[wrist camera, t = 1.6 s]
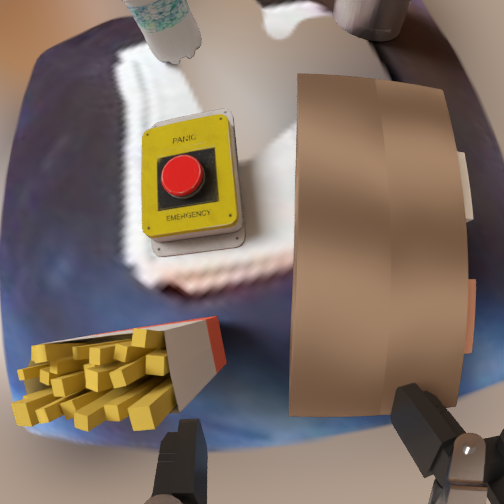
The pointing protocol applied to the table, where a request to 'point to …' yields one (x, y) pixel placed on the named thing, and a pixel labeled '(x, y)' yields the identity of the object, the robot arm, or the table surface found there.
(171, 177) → the emergency button
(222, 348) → the french fries container
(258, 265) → the table surface
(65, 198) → the table surface
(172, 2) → the bottle
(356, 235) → the key panel
